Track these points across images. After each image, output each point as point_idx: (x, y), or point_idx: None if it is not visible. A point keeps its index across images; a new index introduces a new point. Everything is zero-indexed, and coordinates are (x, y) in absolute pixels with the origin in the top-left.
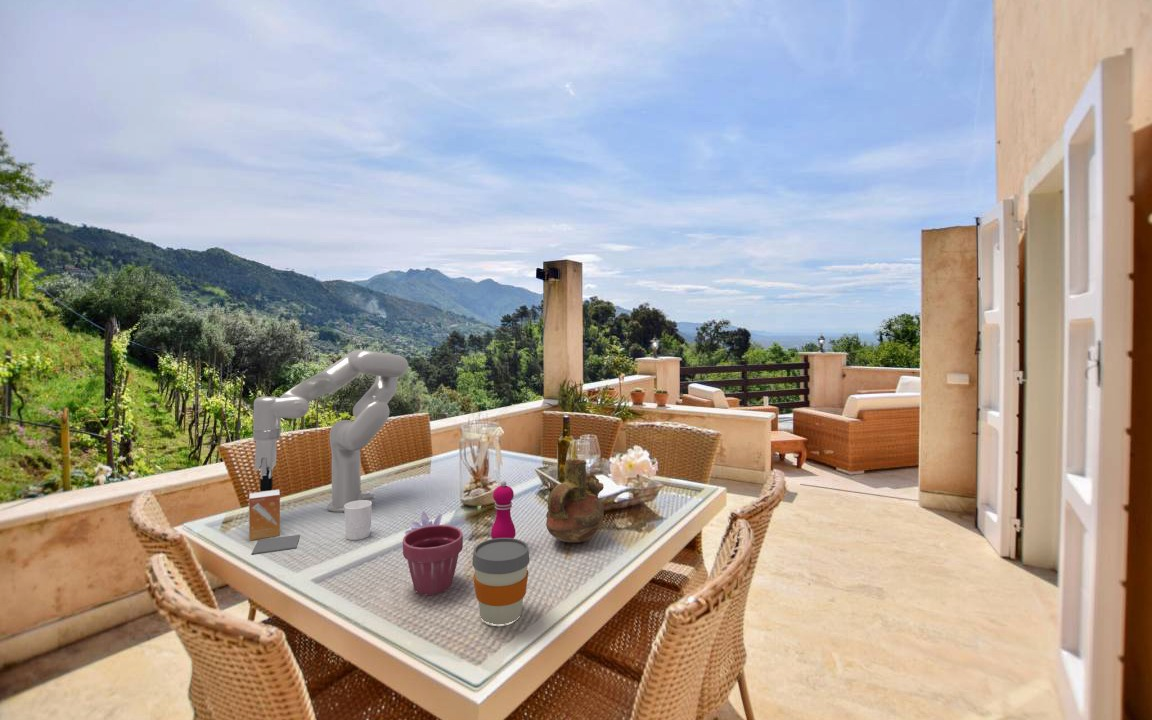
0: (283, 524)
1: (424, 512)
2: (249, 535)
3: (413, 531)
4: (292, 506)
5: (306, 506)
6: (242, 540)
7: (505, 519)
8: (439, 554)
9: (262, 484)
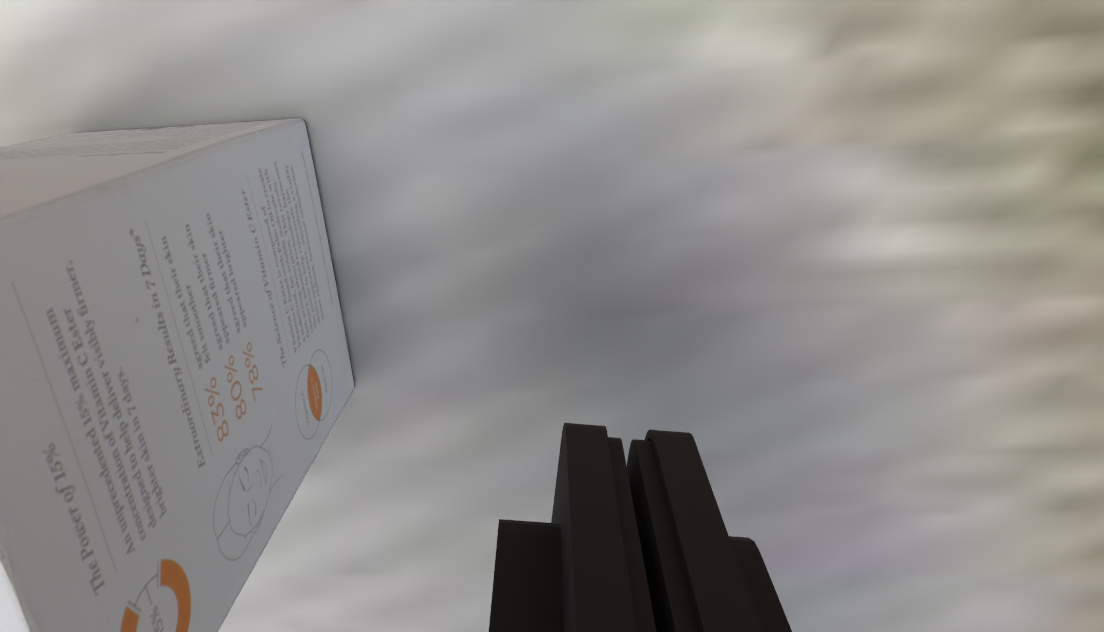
0: (490, 418)
1: None
2: (31, 141)
3: None
4: (1080, 481)
5: (976, 593)
6: (117, 56)
7: None
8: None
9: (562, 574)
